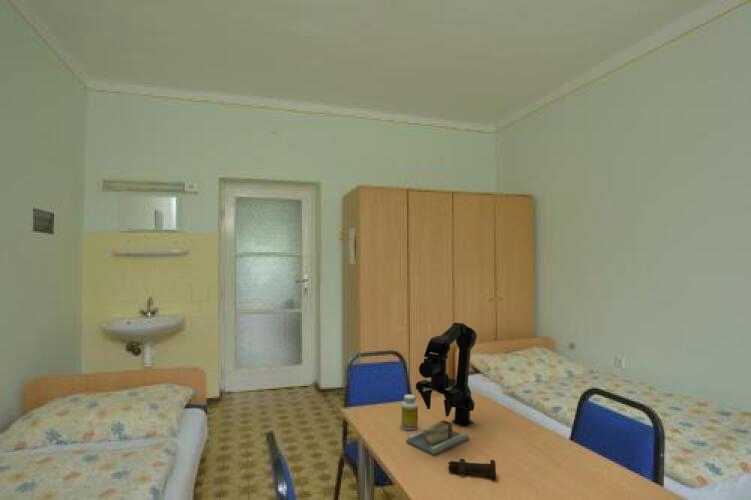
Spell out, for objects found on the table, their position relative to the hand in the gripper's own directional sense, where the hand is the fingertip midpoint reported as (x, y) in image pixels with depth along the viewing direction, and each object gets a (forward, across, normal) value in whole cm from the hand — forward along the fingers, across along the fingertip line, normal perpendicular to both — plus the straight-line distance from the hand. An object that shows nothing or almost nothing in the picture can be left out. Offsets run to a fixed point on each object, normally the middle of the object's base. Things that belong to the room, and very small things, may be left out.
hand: (437, 412), depth 162 cm
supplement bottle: (+11, +16, -1) cm, 20 cm away
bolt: (+12, -22, +9) cm, 27 cm away
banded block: (+10, 0, 0) cm, 10 cm away
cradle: (+11, 0, 0) cm, 11 cm away
